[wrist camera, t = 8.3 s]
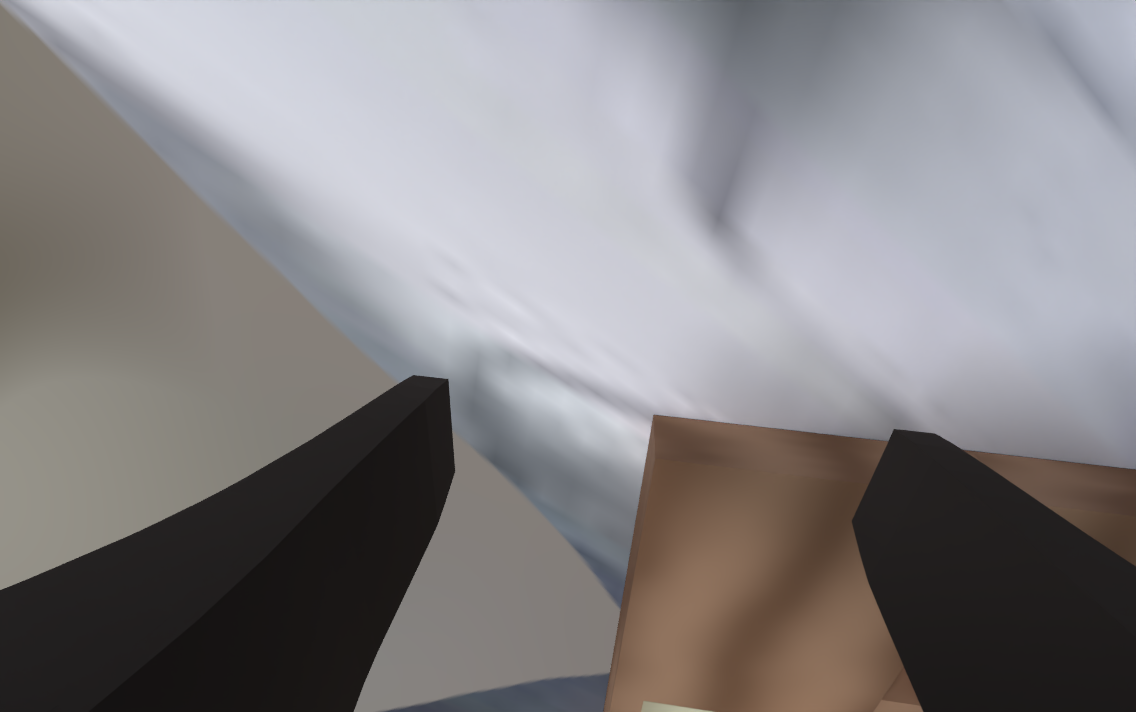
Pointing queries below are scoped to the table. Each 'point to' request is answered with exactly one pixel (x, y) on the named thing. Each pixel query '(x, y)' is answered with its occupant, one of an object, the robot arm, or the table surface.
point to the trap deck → (786, 569)
